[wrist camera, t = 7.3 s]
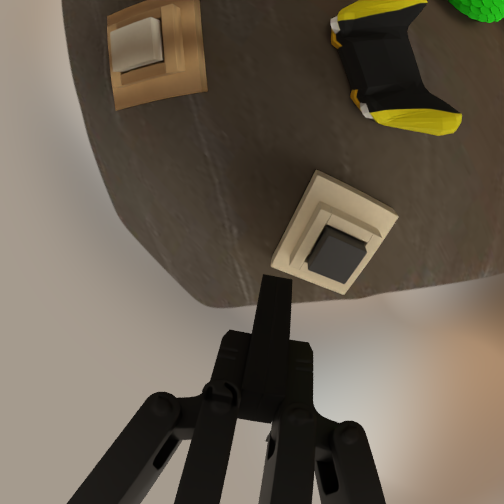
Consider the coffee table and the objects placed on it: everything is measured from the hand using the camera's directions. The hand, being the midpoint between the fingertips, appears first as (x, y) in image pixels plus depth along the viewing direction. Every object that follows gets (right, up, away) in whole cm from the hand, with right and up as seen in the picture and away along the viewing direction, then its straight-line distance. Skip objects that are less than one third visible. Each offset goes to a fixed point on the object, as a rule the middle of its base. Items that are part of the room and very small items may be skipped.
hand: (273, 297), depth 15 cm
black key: (+8, +3, +13) cm, 16 cm away
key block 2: (+8, +4, +16) cm, 19 cm away
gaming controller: (+12, +21, +5) cm, 25 cm away
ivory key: (-11, +22, +4) cm, 25 cm away
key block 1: (-11, +23, +7) cm, 27 cm away
